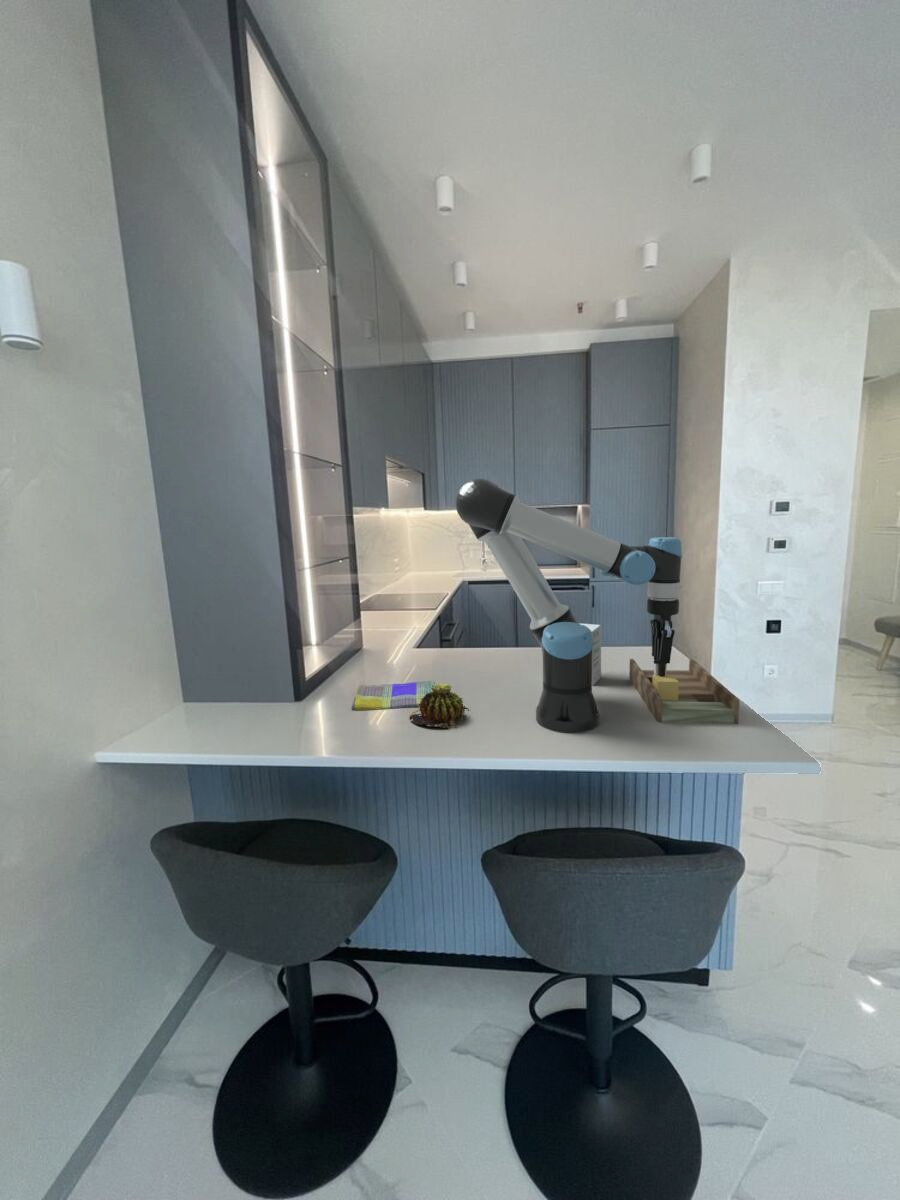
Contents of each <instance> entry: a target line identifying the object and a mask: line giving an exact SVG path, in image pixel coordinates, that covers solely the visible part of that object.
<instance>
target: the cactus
mask: <svg viewBox="0 0 900 1200" xmlns="http://www.w3.org/2000/svg"><path fill="white" fill-rule="evenodd" d="M432 687H433V688H431V689H432V690H433V692H429V693H428V692H427V693H428V694H426V695H425V696H423V698H422V699H420V700H422V701H421V702H420V704H419V705H420V707H418V709H417V710H414V711H412V713H411V714H410V715H409V721H410V722H411V723H414V724H415V725H420V726H423V725H425V727H437V728H438V727H439V728H443V729H446V728H447V729H449V730H451V729H453V728H455V729H457V728H459V727H460V725H457V724H459V723H461V722H462V720H463V719H464V721H465V720H466V719H467V715H466V714H465V710H467V712H470V709H469V708H468V707H465V705H464V703H463V702H464V698H463V697H460V696H459V695H458V694H457V693H456V692H453V691H452V686H451V685H450V684H449V683H444V684H443V683H441V682H440V683H438V684H437V683H435V686H432ZM417 712H420V713H417ZM464 717H466V718H464Z"/></svg>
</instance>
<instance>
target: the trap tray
mask: <svg viewBox="0 0 900 1200" xmlns="http://www.w3.org/2000/svg"><path fill="white" fill-rule="evenodd" d="M688 662H689V663H688V670H686V669H685V670H675V669H674V670H673V669H671V670H670V669H669V670H667V669H666V675H673V676H674V677H675V678H676V679H677V680H678V681H679V690H678V701H663V699H662V697H661V696H660V695H659V693H658V692H657V690H656V689H655V688H654V686H653V685H652V681H653V675H654V669H641V667H640V666H639V664H637V662H636V660H635V659H634V658H629V675H628V676H629V677H628V678H629V681H630V682H631V684H632V685H633V687H634V688H635V690H636V691H637V693H638V695H639V696H640V698H641V700H642V701H643V702H644V704H645V706H646V707H647V708H648V710H649V712H650V713H651V715H652V716H653V717H654V719H655V721H656V722H657V723H674V724H675V723H677V724H678V723H679V724H681V723H682V724H725V725H726V724H727V725H728V724H729V725H730V724H732V725H734V724H735V725H738V724H739V715H740V699H739V698H738V697H737V696H736V695H735V694H734V693H732V692H731V691H730V690H729V689H728V688H726V687H725V686H724V685H723V684H722V683H721V682H720V681H719V680H718V679H716V678H715V677H714V676H713V675H712V674H711V673H710V672H708V671H707V670H706V669H705V668H703V666H701V665H700V664H699V663H698V662H697V661H696V660H695V659H694V658H693V659H692V658H689V661H688Z"/></svg>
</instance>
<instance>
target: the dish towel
mask: <svg viewBox="0 0 900 1200" xmlns="http://www.w3.org/2000/svg"><path fill="white" fill-rule="evenodd" d="M435 684H436V681H435V680H428V681H427V680H426V681H424V680H423V681H415V682H408V683H407V682H406V683H405V682H404V683H390V684H388V683H387V684H379V685H376V684H359V685H357V687H356V692H355V696H354V697H353V701H352V703H351V710H352V711H357V712H358V711H379V710H397V709H409V708H410V709H411V708H412V709H413V708H420V705H419V704H420V702H421V701H422V700H420V699H422V698H423V696H425V695H426V694H428V693H429V692H433V690H432V689H431V688H433V687H432V686H435ZM427 692H428V693H427Z"/></svg>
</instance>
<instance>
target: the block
mask: <svg viewBox="0 0 900 1200" xmlns="http://www.w3.org/2000/svg"><path fill="white" fill-rule="evenodd" d="M652 685H653V686H654V688H655V689H656V690H657V692H658V693H659V695H660V696H661V697H662V699H663V701H678V690H679V681H678V680H677V679H676V678H675V677H674V676H673V675H665V676H659V675H653V681H652Z"/></svg>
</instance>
